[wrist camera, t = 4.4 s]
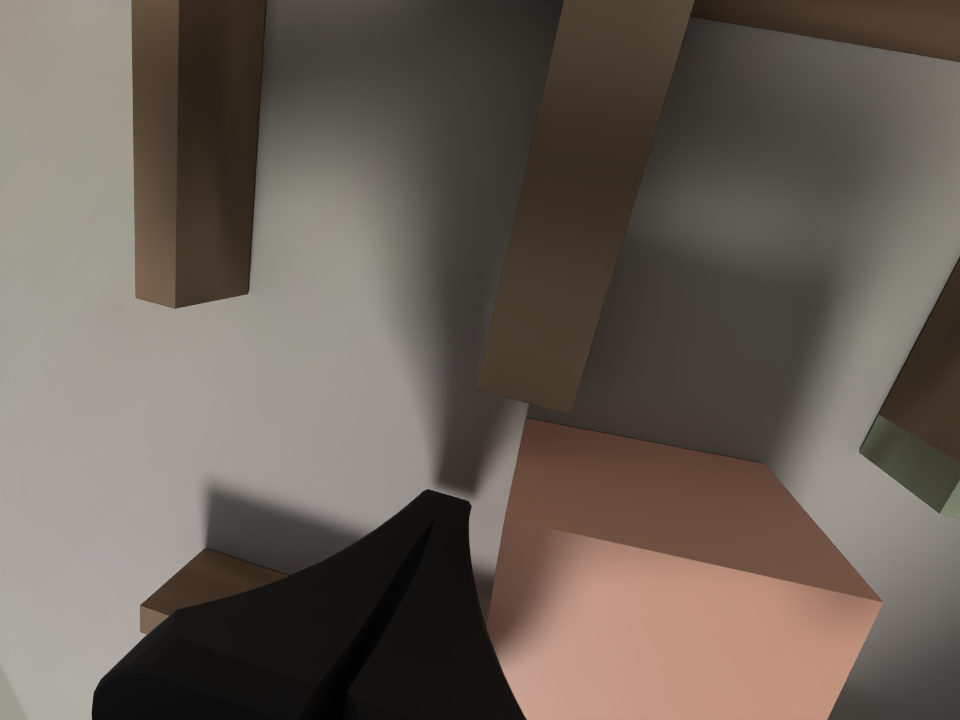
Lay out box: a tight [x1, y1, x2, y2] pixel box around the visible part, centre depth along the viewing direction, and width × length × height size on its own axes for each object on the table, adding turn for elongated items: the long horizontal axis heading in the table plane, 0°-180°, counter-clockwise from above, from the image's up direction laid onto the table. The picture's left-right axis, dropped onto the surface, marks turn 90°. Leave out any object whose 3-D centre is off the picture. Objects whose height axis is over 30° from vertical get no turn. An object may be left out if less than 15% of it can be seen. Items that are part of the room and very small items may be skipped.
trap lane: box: [132, 0, 960, 635], centre depth 10 cm, size 19×25×2 cm
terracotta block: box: [486, 418, 883, 720], centre depth 11 cm, size 6×6×4 cm
